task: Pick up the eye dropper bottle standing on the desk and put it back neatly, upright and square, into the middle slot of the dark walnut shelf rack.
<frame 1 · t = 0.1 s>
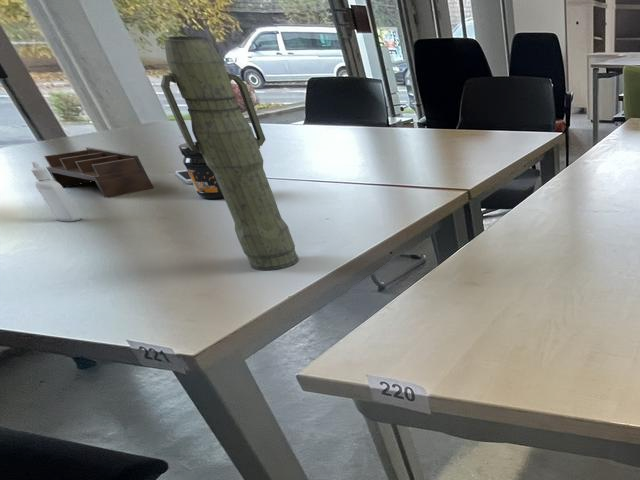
supplement container: (222, 195, 138), on the table
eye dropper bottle: (70, 220, 119), on the table
smartphone: (196, 178, 151), on the table
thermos: (276, 263, 101), on the table
shelf: (106, 187, 141), on the table
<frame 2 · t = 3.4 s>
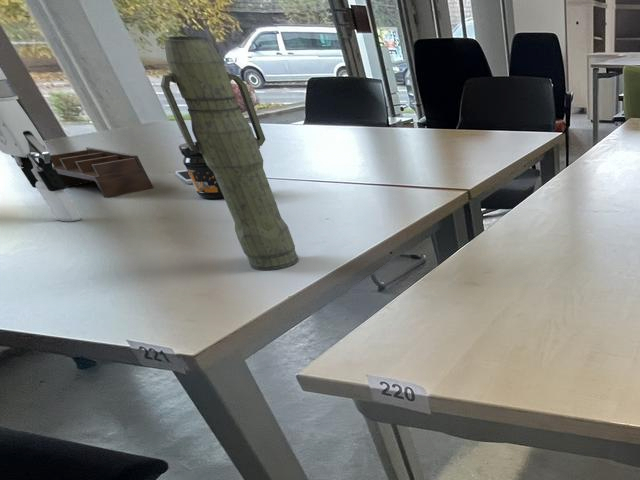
hand: (49, 187, 115), 7 cm above the table, tool pointing down, fingers closed on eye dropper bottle, 5 cm apart
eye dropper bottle: (70, 220, 119), on the table, touching gripper
everything else where it was.
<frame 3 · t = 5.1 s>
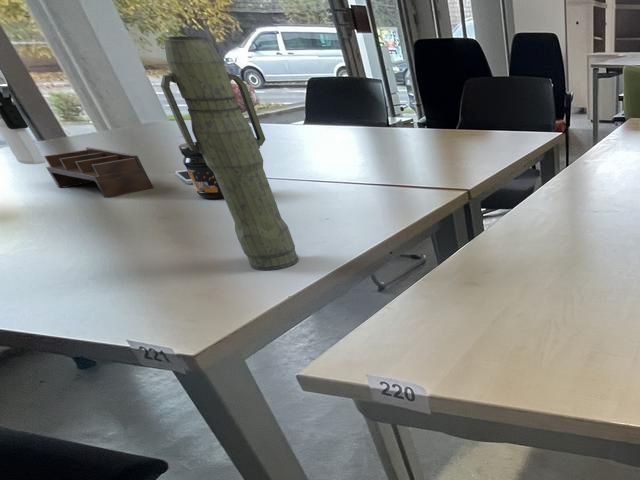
hand: (10, 125, 107), 19 cm above the table, tool pointing down, fingers closed on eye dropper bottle, 5 cm apart
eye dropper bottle: (33, 163, 112), point 12 cm above the table, touching gripper
everything else where it was.
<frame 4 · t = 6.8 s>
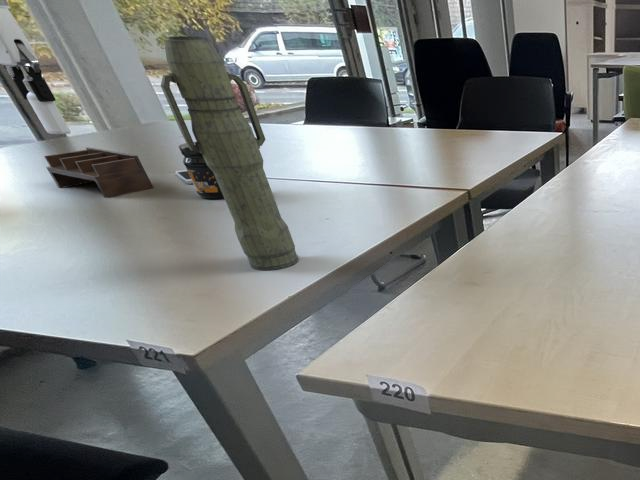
hand: (40, 99, 121), 21 cm above the table, tool pointing down, fingers closed on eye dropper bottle, 5 cm apart
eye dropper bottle: (59, 134, 125), point 14 cm above the table, touching gripper
everything else where it was.
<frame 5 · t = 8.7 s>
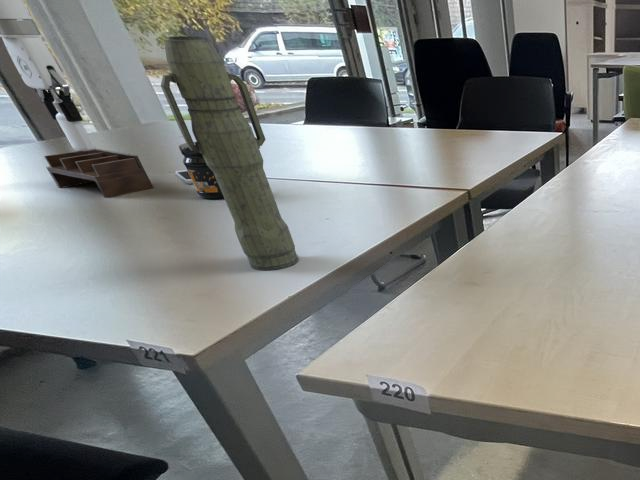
hand: (68, 119, 131), 16 cm above the table, tool pointing down, fingers closed on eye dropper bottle, 5 cm apart
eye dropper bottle: (85, 150, 135), point 9 cm above the table, touching gripper
everything else where it was.
when the fingers open (12 cm above the table, at t = 10.2 s): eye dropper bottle stays where it is, resting on shelf.
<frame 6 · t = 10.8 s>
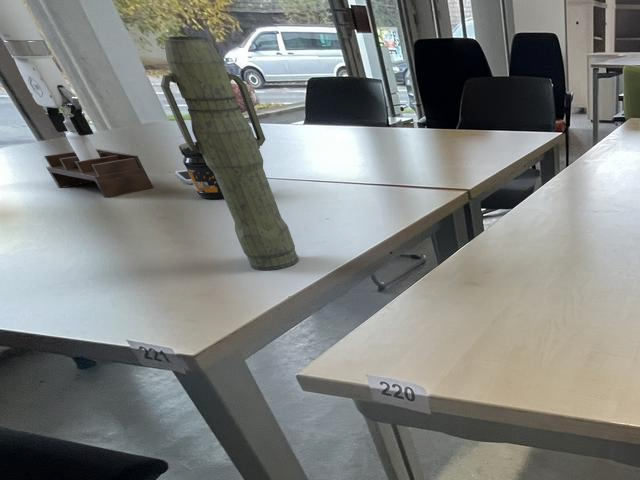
hand: (75, 133, 133), 13 cm above the table, tool pointing down, fingers open, 9 cm apart
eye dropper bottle: (95, 168, 138), point 5 cm above the table, touching shelf
everything else where it was.
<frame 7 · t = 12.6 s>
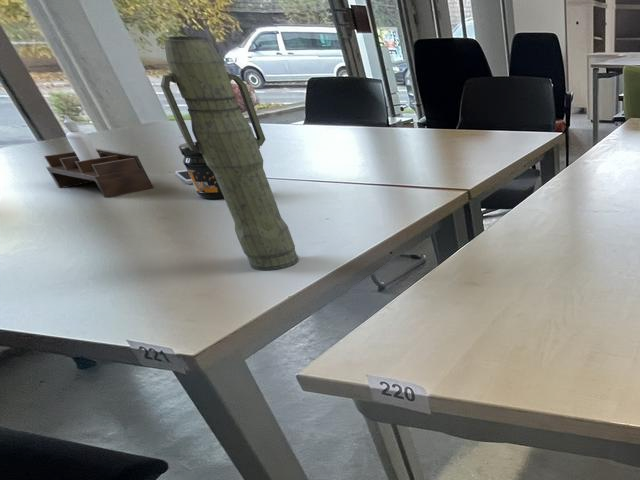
nothing on the table moved.
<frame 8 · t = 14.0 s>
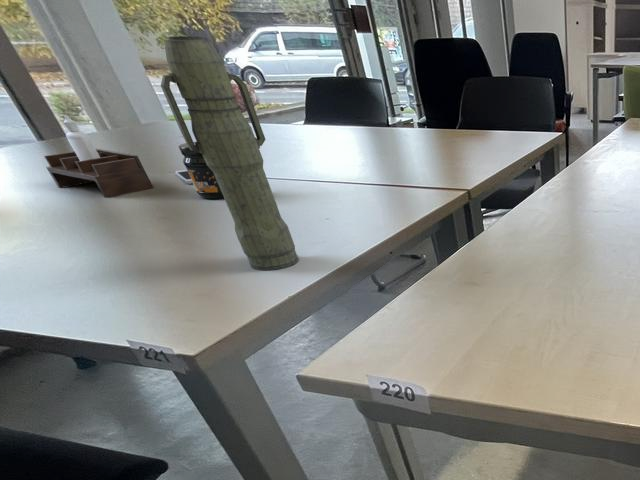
nothing on the table moved.
at the end: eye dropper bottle 0.0 cm off-centre on the shelf, point 4.8 cm above the shelf's base; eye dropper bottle tilted 0°; the gripper is holding nothing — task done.
